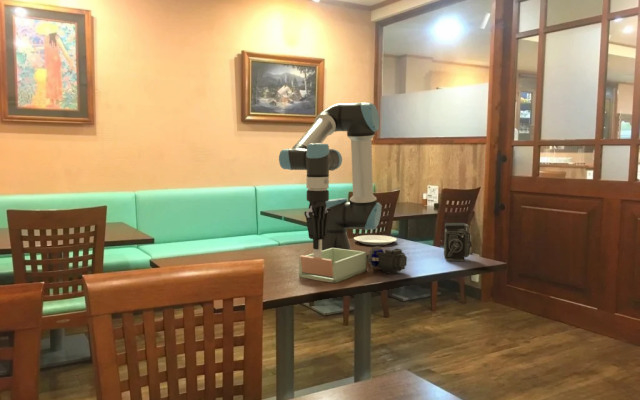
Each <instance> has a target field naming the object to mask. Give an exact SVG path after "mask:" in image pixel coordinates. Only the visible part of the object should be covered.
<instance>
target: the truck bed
mask: <svg viewBox="0 0 640 400" xmlns="http://www.w3.org/2000/svg"><path fill="white" fill-rule="evenodd" d="M367 255H368V252H367V251H363V250H362V251H361V250H353V249H350V250H346V249H339V248H330V249H326V250H323V251H322V258H325V259H331V260H332V264H333V278H328V277H322V276H316V275H310V274H304V273H302V266H301V259H300V256H299V261H298V262H299V264H298V265H299V267H298V268H299V269H298V271H299V272H298V273H299V274H298V275H299V276H298V277H299V278H304V279H309V280H310V279H311V280H314V281H315V280H316V281H321V282H326V283H327V282H328V283H333V284H337V283H339V282H342V281H344V280H347V279H349V278H352V277H355V276H358V275H359V274H362V273H364V272H367V267H368V263H367V262H368V258H367ZM304 256H311V257H313V252H312V253H310V254H305V255H304Z"/></svg>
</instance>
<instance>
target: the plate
mask: <svg viewBox="0 0 640 400" xmlns="http://www.w3.org/2000/svg"><path fill="white" fill-rule="evenodd" d="M353 240H355V241H358V242H359V243H360V244H363V245H368V246H386V245H389V244H391V243H394V242H396V241H397V240H398V238H397V237H394V236H390V235H389V236H388V235H380V234H378V235H377V234H367V235H365V234H364V235H357V236H354V237H353Z"/></svg>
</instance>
